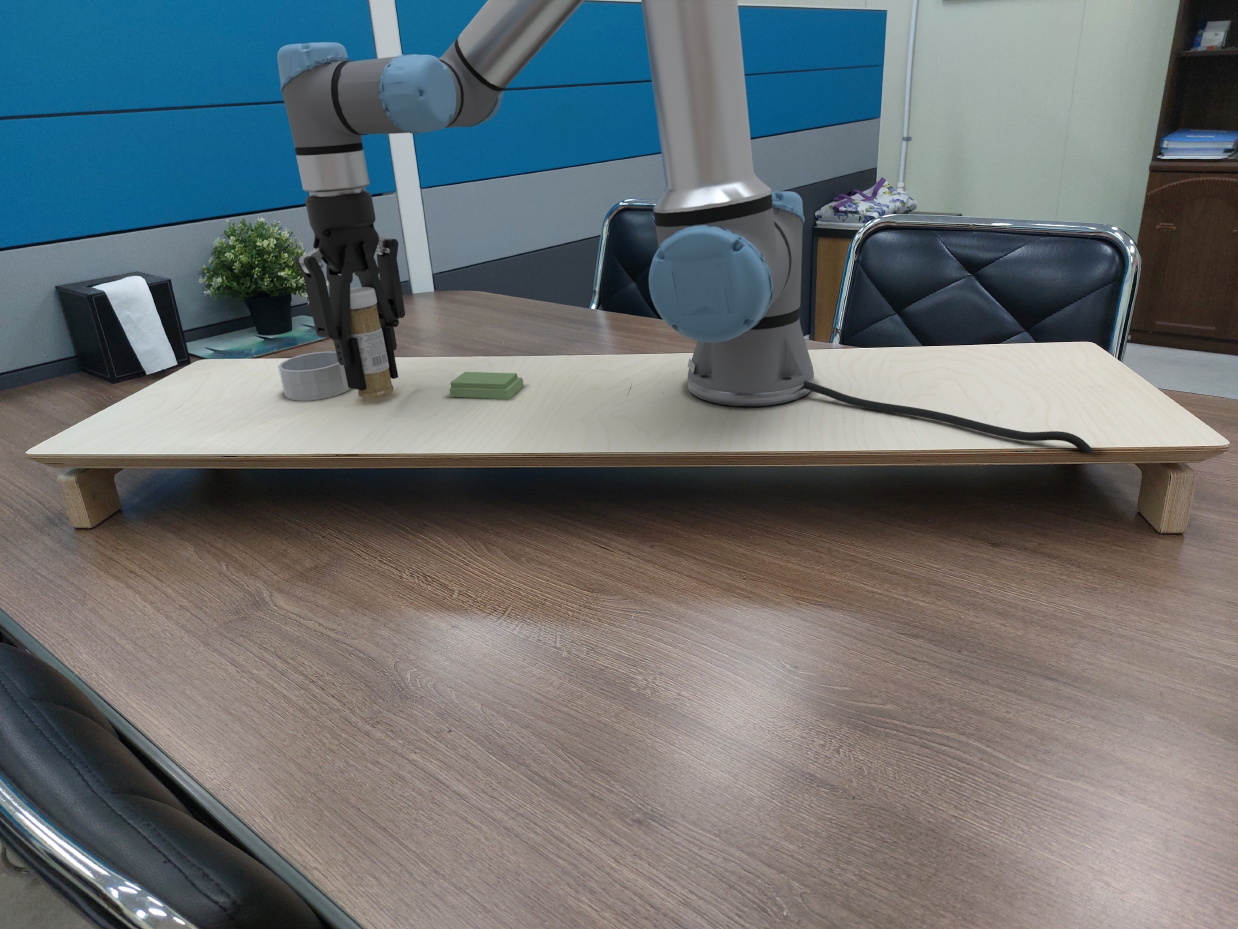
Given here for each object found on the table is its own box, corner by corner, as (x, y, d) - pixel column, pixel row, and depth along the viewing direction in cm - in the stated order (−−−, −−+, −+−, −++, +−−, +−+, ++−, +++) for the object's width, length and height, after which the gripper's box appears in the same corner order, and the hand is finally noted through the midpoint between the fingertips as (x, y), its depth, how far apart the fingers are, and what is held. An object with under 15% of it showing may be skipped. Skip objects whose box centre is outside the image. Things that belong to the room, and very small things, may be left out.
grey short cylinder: (365, 380, 115) (360, 352, 113) (329, 401, 107) (323, 372, 106) (310, 378, 117) (304, 350, 116) (271, 399, 110) (264, 370, 108)
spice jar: (385, 386, 110) (365, 284, 105) (400, 393, 107) (380, 288, 101) (352, 395, 107) (330, 291, 102) (366, 402, 104) (344, 295, 99)
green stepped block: (523, 386, 108) (522, 372, 108) (509, 399, 104) (507, 384, 103) (467, 384, 110) (465, 370, 110) (450, 397, 106) (448, 382, 105)
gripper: (376, 182, 105) (406, 360, 115) (251, 201, 93) (297, 398, 102) (416, 183, 101) (444, 367, 111) (291, 202, 89) (335, 408, 98)
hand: (373, 381), depth 107 cm, fingers closed on spice jar, 4 cm apart
